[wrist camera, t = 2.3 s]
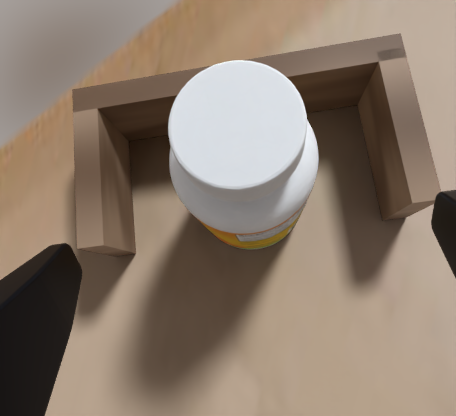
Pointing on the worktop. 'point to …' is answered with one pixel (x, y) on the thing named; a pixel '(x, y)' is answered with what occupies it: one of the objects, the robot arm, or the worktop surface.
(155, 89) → the walnut cubby
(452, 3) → the worktop surface
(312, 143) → the supplement bottle
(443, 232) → the robot arm
